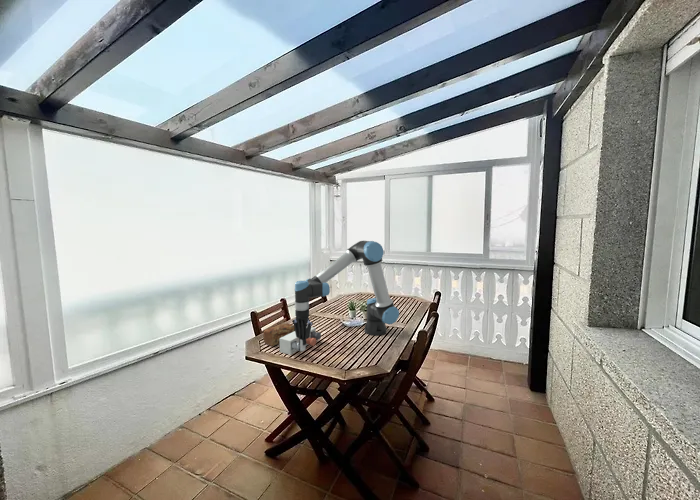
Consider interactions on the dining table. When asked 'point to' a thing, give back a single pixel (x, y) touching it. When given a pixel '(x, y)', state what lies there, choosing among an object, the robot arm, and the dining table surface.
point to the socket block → (288, 339)
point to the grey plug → (316, 335)
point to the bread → (277, 333)
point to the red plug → (311, 341)
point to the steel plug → (295, 346)
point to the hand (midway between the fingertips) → (302, 350)
